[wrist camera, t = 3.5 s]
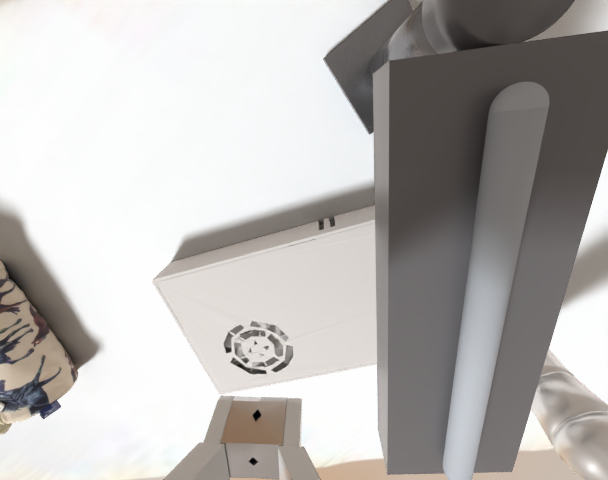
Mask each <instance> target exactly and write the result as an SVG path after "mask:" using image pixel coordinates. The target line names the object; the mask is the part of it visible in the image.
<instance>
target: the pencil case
mask: <svg viewBox="0 0 608 480" xmlns="http://www.w3.org/2000/svg"><path fill="white" fill-rule="evenodd" d="M77 377H78V371H77V370H76V368H75V366H74V365H73V363H72V360H71V358H70V356H69V355H68V353H67V351H66V350H65V349H64V347H63V346H62V345H61V343H60V342H59V341H58V340H57V339H56V337H55V335H54V334H53V332H52V331H51V330H50V328H49V326H48V325H47V323H46V322H45V320H44V319H43V318H42V317H41V315H40V314H38V312H37V310H36V309H35V308H34V307H33V306H32V305H31V303H30V302H29V301H28V299H27V298H26V296H25V294H24V293H23V291H21V290H20V289H19V288H18V287H17V285H16V284H15V283H14V282H13V281H12V280H10V279H8V272H7V270H6V268H5V266H4V264H3V263H2V262H1V261H0V434H5V433H6V432H7V431H8V430H9V428H10V426H11V424H12V423H14V422H18V421H23V420H26V419H28V418H30V417H32V416H34V415H36V414H38V413H40V416H41V417H42V416H43V417H42V418H43V419H45V418H46V417H47V416H49V415H50V414H52V413H53V412H55V411H56V410H58V409H59V408H60V407H61V406H60V404H59V403H58V401H57V400H58V399H59V398H60V397H62V396H63V395H64V394H65V393H67V392H68V391H69V390H70V389H71V387H72V386H73V385H74V383H75V381H76V380H77Z"/></svg>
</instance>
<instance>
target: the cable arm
mask: <svg viewBox="0 0 608 480" xmlns="http://www.w3.org/2000/svg"><path fill="white" fill-rule="evenodd" d="M574 1H575V0H423V3H422V24H423V29H424V33H425V35H426V38H427V40H428V42H429V44H430V45H431V46H432V48H433V49H434V50H435V51H436V52H437V53H438V54H434V55H426V56H419V57H412V58H405V59H397V60H390V61H388V62H387V63H386V64H385V65H383V66H382V67H381V68H380V69H378V70H377V71H376V72H375V73H373V117H374V184H375V250H376V317H377V383H378V431H379V436H380V441H381V446H382V451H383V456H384V461H385V465H386V470H387V474H388V475H390V474H433V473H434V474H436V473H445V475H446V476H447V478H448V479H449V480H472V476H473V473H477V472H478V473H480V472H512V470H513V467H514V464H515V460H516V457H517V454H518V450H519V447H520V443H521V440H522V437H523V433H524V430H525V427H526V423H527V420H528V416H529V413H530V410H531V406H532V403H533V400H534V396H535V393H536V389H537V386H538V383H539V379H540V376H541V373H542V369H543V366H544V362H545V359H546V356H547V352H548V349H549V346H550V342H551V339H552V335H553V332H554V329H555V325H556V322H557V319H558V315H559V312H560V309H561V305H562V302H563V298H564V295H565V292H566V288H567V285H568V282H569V278H570V275H571V271H572V268H573V265H574V261H575V258H576V255H577V251H578V248H579V244H580V241H581V238H582V234H583V231H584V228H585V224H586V221H587V217H588V214H589V211H590V207H591V204H592V201H593V197H594V194H595V190H596V187H597V184H598V180H599V177H600V174H601V170H602V167H603V163H604V160H605V157H606V153H607V150H608V31H601V32H594V33H587V34H579V35H572V36H565V37H558V38H550V39H543V40H536V41H528V42H523V41H525V40H528V39H530V38H532V37H534V36H536V35H538V34H540V33H542V32H543V31H545V30H546V29H548V28H549V27H550V26H551V25H553V24H554V23H555V22H556V21H557V20H558V19H559V18H560V17H561V16H562V15H563V14H564V13H565V12H566V11H567V10H568V9H569V7H570V6H571V5H572V3H573V2H574ZM520 42H521V43H520Z"/></svg>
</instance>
